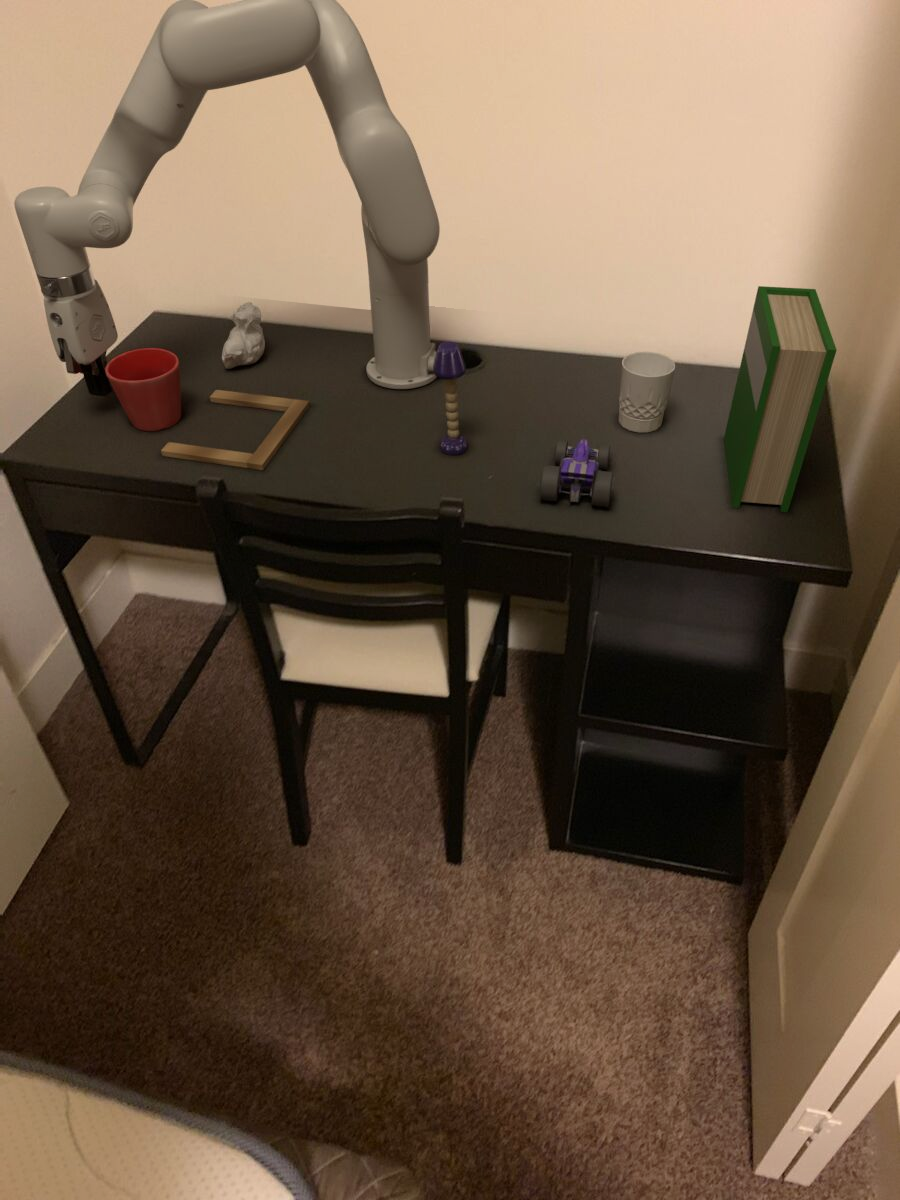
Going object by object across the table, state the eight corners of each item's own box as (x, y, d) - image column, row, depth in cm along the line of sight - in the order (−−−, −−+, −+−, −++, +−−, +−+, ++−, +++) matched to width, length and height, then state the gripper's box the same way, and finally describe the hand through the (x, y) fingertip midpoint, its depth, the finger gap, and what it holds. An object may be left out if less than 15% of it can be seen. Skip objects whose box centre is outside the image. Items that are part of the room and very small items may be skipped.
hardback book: (787, 512, 122) (836, 350, 106) (732, 507, 123) (772, 346, 107) (773, 443, 135) (815, 289, 119) (723, 439, 136) (758, 286, 120)
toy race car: (615, 454, 133) (620, 416, 129) (607, 514, 123) (612, 474, 118) (551, 448, 135) (554, 410, 130) (538, 506, 124) (541, 467, 120)
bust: (236, 387, 154) (266, 343, 147) (199, 359, 152) (227, 313, 145) (263, 355, 163) (292, 312, 156) (228, 328, 161) (256, 283, 154)
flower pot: (174, 440, 138) (160, 383, 131) (109, 433, 140) (92, 377, 133) (202, 405, 146) (189, 350, 139) (140, 399, 147) (124, 345, 141)
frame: (310, 406, 145) (309, 400, 144) (263, 470, 132) (262, 464, 131) (217, 394, 148) (216, 389, 148) (162, 456, 135) (160, 450, 134)
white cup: (670, 415, 142) (681, 357, 135) (657, 439, 136) (667, 380, 130) (622, 405, 144) (630, 347, 137) (608, 428, 139) (615, 370, 132)
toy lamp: (444, 459, 133) (442, 356, 122) (430, 444, 136) (427, 342, 125) (472, 450, 135) (472, 348, 123) (458, 436, 138) (457, 334, 127)
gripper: (60, 304, 124) (97, 420, 136) (116, 263, 134) (145, 374, 147) (13, 299, 125) (53, 414, 137) (72, 258, 136) (105, 368, 148)
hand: (101, 393), depth 142 cm, fingers closed
